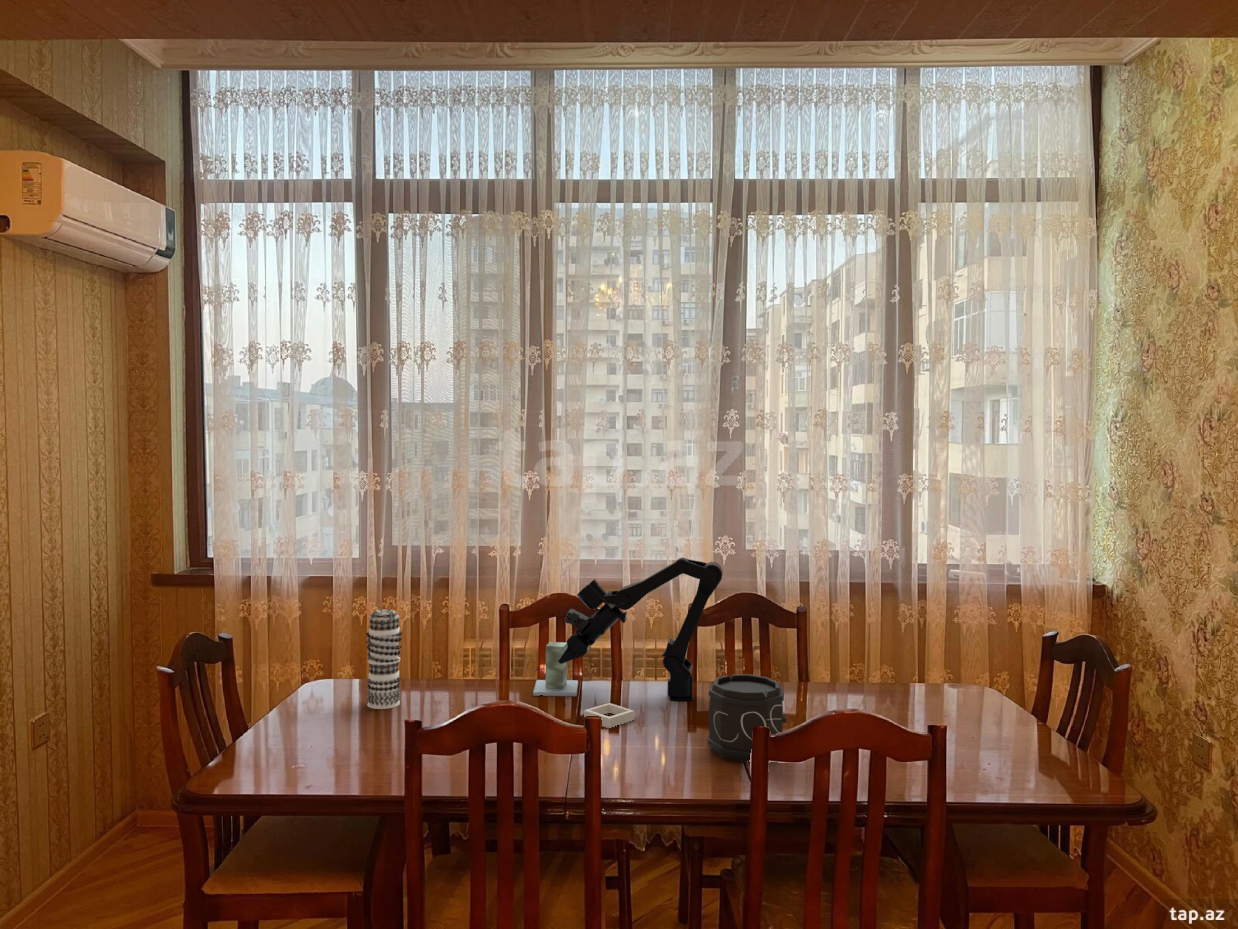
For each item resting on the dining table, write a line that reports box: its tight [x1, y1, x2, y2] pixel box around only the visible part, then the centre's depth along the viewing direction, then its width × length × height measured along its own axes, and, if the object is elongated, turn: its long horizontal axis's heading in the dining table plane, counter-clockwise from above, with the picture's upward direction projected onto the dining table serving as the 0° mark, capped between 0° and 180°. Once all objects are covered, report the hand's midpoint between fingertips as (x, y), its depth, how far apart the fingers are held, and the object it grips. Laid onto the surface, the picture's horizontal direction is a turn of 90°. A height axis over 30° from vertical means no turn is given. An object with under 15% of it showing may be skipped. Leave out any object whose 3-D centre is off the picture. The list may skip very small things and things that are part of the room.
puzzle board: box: [583, 702, 635, 729], centre depth 221 cm, size 9×9×2 cm
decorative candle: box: [365, 608, 403, 710], centre depth 231 cm, size 9×9×25 cm
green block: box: [545, 641, 568, 689], centre depth 247 cm, size 5×5×12 cm
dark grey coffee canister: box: [707, 673, 788, 763], centre depth 201 cm, size 18×18×16 cm
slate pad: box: [532, 679, 579, 697], centre depth 247 cm, size 12×12×1 cm
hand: (563, 658), depth 246 cm, fingers open, 9 cm apart
